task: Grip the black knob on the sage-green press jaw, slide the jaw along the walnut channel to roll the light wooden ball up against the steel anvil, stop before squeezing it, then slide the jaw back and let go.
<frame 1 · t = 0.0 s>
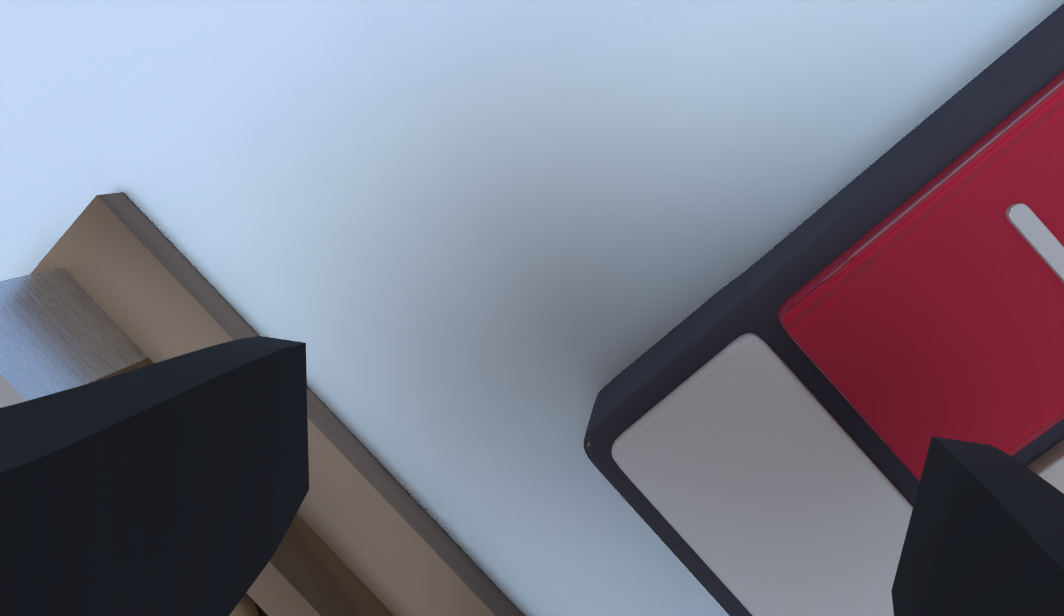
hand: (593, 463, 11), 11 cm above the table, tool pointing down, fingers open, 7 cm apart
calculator: (1008, 367, 20), on the table
anvil: (52, 392, 24), resting on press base
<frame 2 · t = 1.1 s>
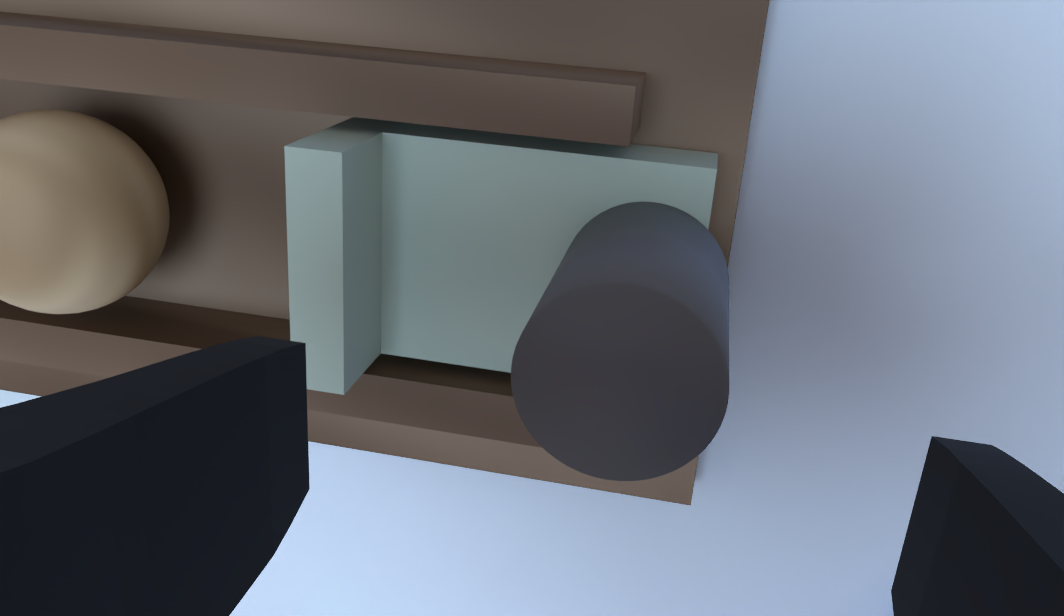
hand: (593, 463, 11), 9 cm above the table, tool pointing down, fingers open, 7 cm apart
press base: (230, 189, 20), on the table
ball: (60, 212, 18), point 3 cm above the table, touching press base
jaw: (504, 293, 16), point 4 cm above the table, slide at 0.0 cm
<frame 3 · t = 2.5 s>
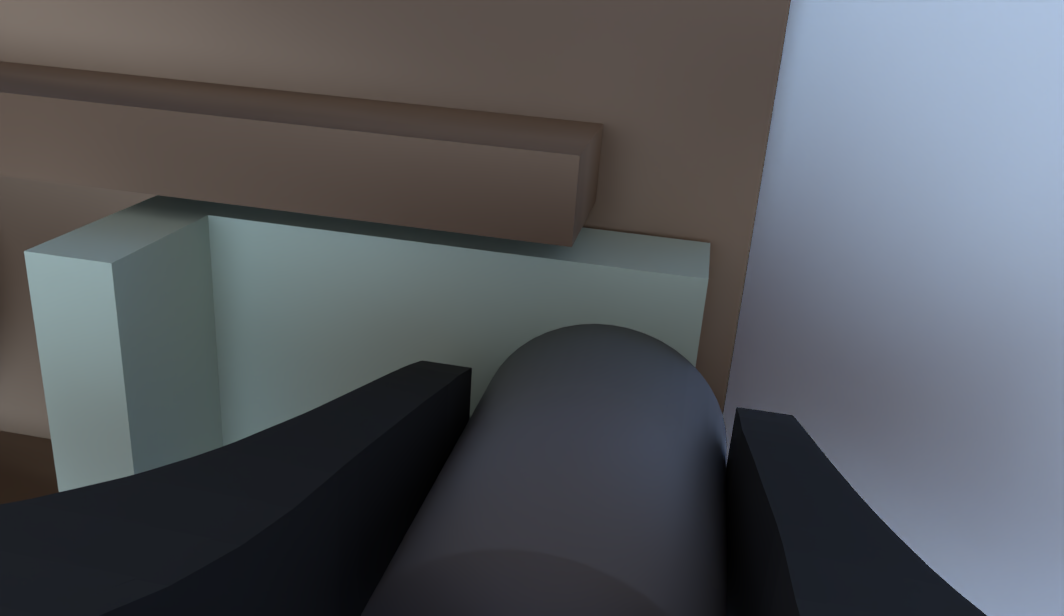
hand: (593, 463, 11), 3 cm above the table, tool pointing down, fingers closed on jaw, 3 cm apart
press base: (44, 271, 15), on the table
jaw: (380, 472, 10), point 4 cm above the table, slide at 0.0 cm, touching gripper
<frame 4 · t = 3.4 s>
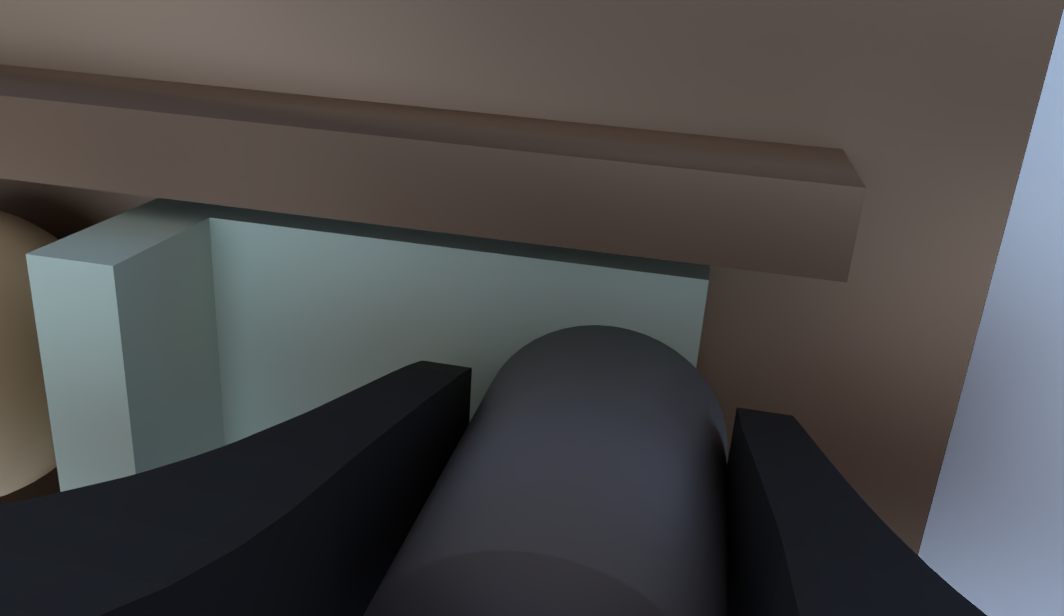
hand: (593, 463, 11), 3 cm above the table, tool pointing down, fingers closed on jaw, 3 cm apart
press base: (208, 296, 15), on the table
jaw: (381, 474, 10), point 4 cm above the table, slide at 2.9 cm, touching gripper
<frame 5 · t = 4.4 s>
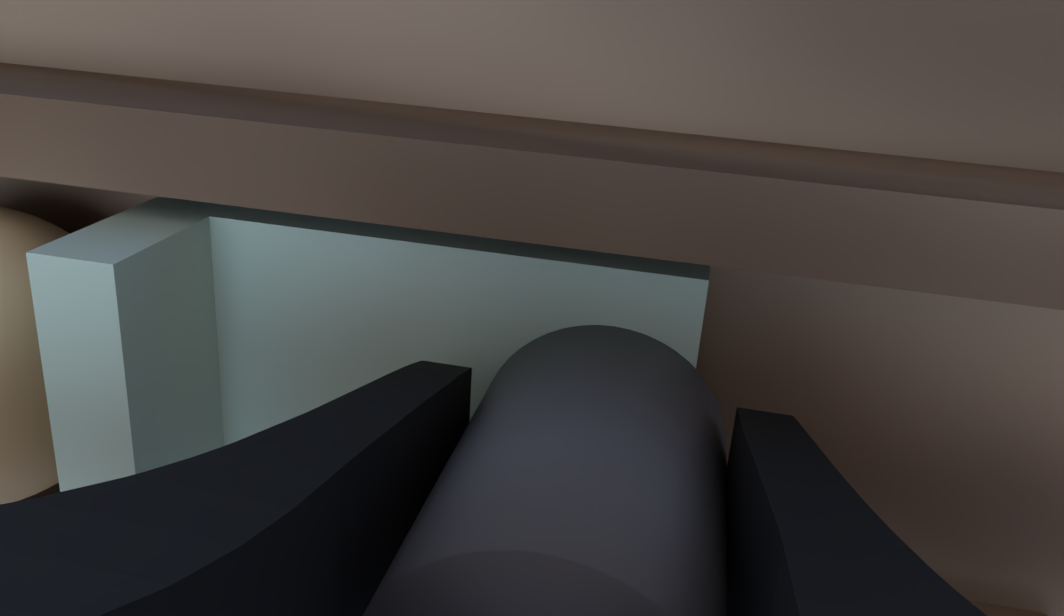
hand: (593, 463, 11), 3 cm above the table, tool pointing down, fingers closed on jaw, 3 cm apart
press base: (440, 328, 14), on the table
jaw: (381, 473, 10), point 4 cm above the table, slide at 6.7 cm, touching gripper
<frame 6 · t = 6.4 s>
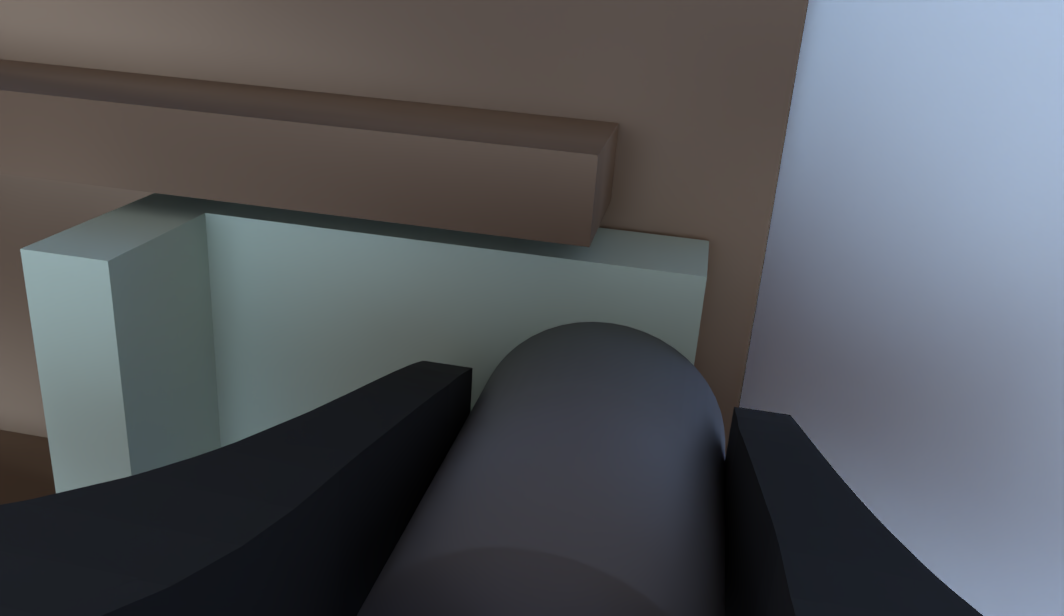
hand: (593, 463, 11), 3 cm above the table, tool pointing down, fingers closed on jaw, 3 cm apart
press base: (53, 271, 15), on the table
jaw: (378, 470, 10), point 4 cm above the table, slide at 0.2 cm, touching gripper
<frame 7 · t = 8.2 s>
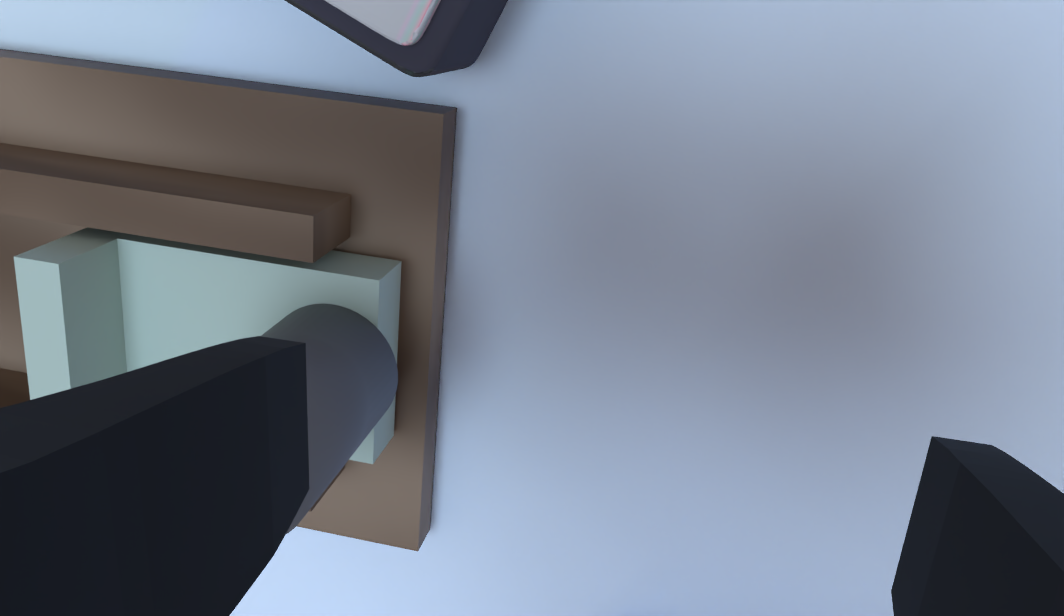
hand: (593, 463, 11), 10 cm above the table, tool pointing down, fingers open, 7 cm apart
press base: (34, 268, 24), on the table
jaw: (200, 379, 19), point 4 cm above the table, slide at 0.2 cm
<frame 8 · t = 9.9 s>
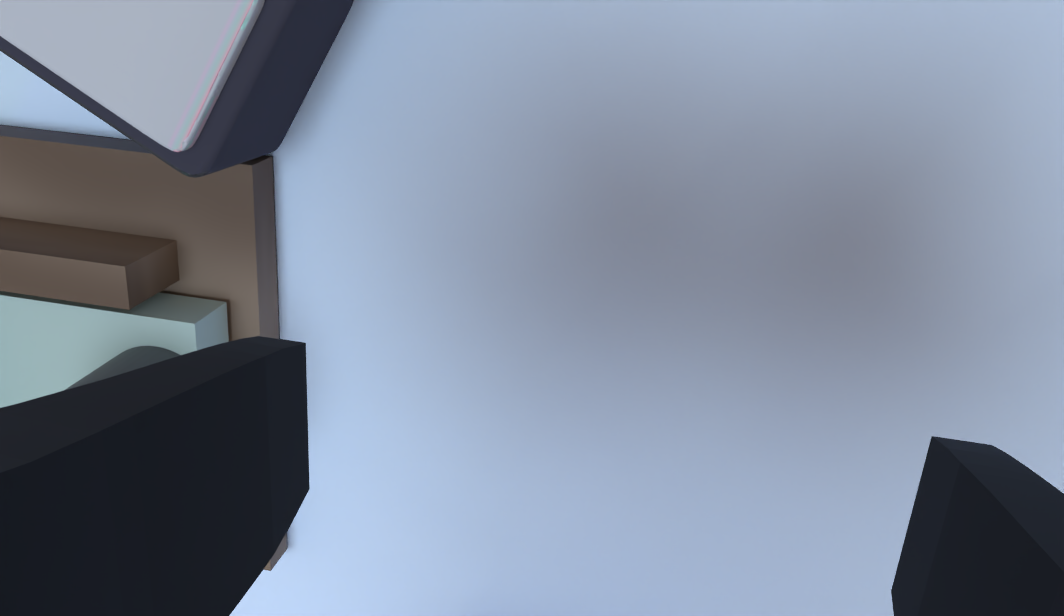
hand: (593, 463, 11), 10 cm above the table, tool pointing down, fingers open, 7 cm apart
jaw: (29, 420, 20), point 4 cm above the table, slide at 0.2 cm
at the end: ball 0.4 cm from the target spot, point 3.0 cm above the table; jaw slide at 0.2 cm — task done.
